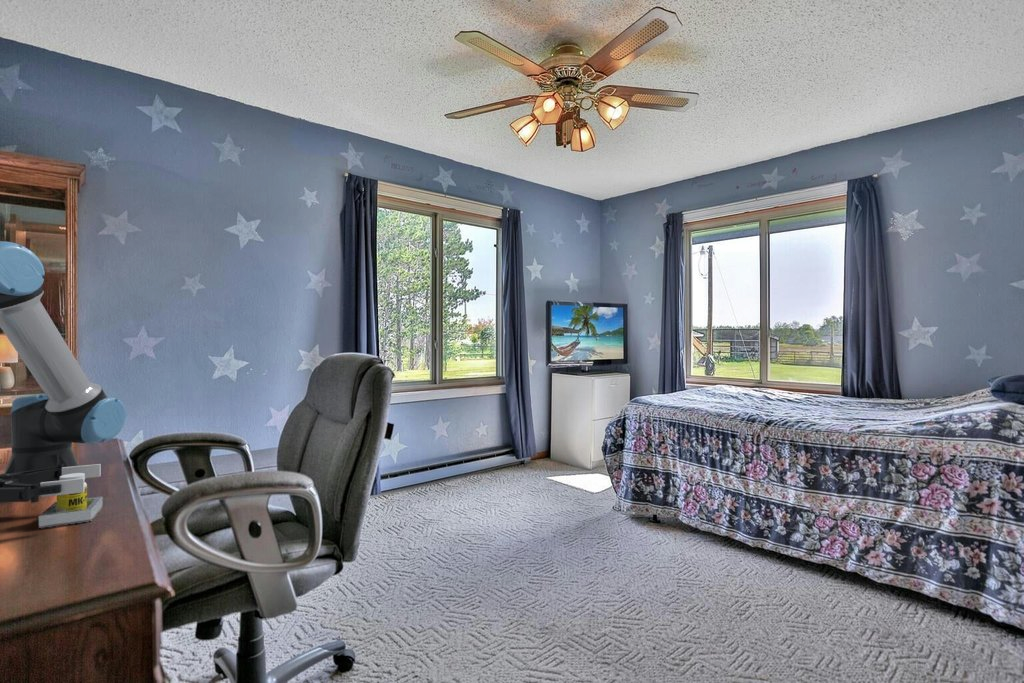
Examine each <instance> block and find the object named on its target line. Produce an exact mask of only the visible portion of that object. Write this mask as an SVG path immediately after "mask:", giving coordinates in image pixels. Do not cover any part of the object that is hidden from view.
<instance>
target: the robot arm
mask: <svg viewBox="0 0 1024 683" xmlns="http://www.w3.org/2000/svg"><path fill="white" fill-rule="evenodd" d="M45 274H46V273H45V268H44V265H43V263H42V262H41V259H40V258H39V257H38V256H37V255H36V254H35V253H34V252H33V251H32V250H30V249H29V248H27V247H25V246H24V245H21V244H19V243H15V242H12V241H6V240H5V241H2V240H0V329H1V330H2V332H3V333H4V335H5V336H6V338H7V339H8V341H9V342H10V344H11V346H12V347H13V348H14V350H15V351H16V353H17V354H18V356H19V357H20V359H21V360H22V361H23V363H24V364H25V366H26V368H27V369H28V370H29V372H30V374H31V375H32V376H33V378H34V380H35V381H36V382H37V384H38V385H39V386H40V389H41V390H42V391H43V392H44V393H42V394H41V393H40V394H34V395H25V396H19V397H16V398H15V399H14V400H12V403H11V410H10V419H11V420H10V426H11V427H10V428H11V429H10V430H11V432H10V436H11V438H10V439H11V441H10V442H11V453H10V454H11V455H10V459H9V461H8V463H7V465H6V468H5V470H4V473H0V503H27V502H28V503H29V502H30V503H31V504H33V503H38V502H39V501H40V498H44V497H45V498H46V497H57V495H65V494H74V493H83V492H84V482H85V480H84V478H79V479H70V480H60V481H59V478H60V476H63V475H67V474H73V473H84V474H85V479H90V478H100V477H101V472H102V471H101V466H102V465H101V463H95V464H85V465H84V464H83V465H79V462H78V460H77V458H76V455H75V454H74V451H73V448H72V447H73V446H72V445H73V444H75V443H76V444H87V445H88V444H91V445H92V444H99V443H102V444H103V443H105V442H109V441H111V440H112V439H114V438H116V437H117V436H118V435H119V433H120V432H121V431H122V430H123V428H124V425H125V422H126V420H127V409H126V406H125V404H124V402H122V401H121V400H119V399H117V398H115V397H110V396H109V397H108V396H107V394H106V392H105V391H104V390H103V387H101V385H100V384H98V383H94V382H90V380H89V379H88V377H87V375H86V373H85V372H84V371H83V369H82V368H81V366H80V364H79V362H78V361H77V359H76V358H75V356H74V354H73V352H72V351H71V349H70V347H69V346H68V345H67V342H66V341H65V338H63V336H62V335H61V332H60V331H59V330H58V328H57V326H56V325H55V323H54V321H53V319H52V318H51V317H50V314H49V313H48V311H47V310H46V308H45V306H44V305H43V303H42V302H41V298H42V296H43V295H44V293H45V291H44V289H43V287H42V286H43V283H44V281H45V279H44V278H43V277H44V276H45ZM72 443H73V444H72Z"/></svg>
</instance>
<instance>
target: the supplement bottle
mask: <svg viewBox="0 0 1024 683" xmlns="http://www.w3.org/2000/svg"><path fill="white" fill-rule="evenodd" d="M79 478H84V492H83V493H74V494H65V495H56V502H57V512H60V511H68V510H76V509H84V508H87V498H88V484H87V482H85V479H86V478H85V474H84V473H73V474H67V475H63V476H60V478H59V481H60V480H70V479H79Z"/></svg>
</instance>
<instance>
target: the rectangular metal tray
mask: <svg viewBox="0 0 1024 683" xmlns="http://www.w3.org/2000/svg"><path fill="white" fill-rule="evenodd" d="M103 502H104V500H103V496H94V497H87V508H84V509H76V510H68V511H60V512H57V501H54V503H52V504H51V505H50V506H48V508H46V509H45V510H44V511H43V512H42V513H40V514H39V515H38V529H39V528H41V529H46V528H45V527H49V528H53V527H52V526H56V527H61V526H60V525H64V526H69V525H68V524H71V525H76V524H75V523H78V524H82V523H81V522H86V523H90V522H89V521H91V522H92V521H93V520H94V519H95V518H96V517H97V515H98V514H99V513H100V512H101V510H102V509H103V504H104V503H103ZM98 512H99V513H98ZM97 513H98V514H97ZM93 518H94V519H93ZM92 519H93V520H92Z"/></svg>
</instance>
